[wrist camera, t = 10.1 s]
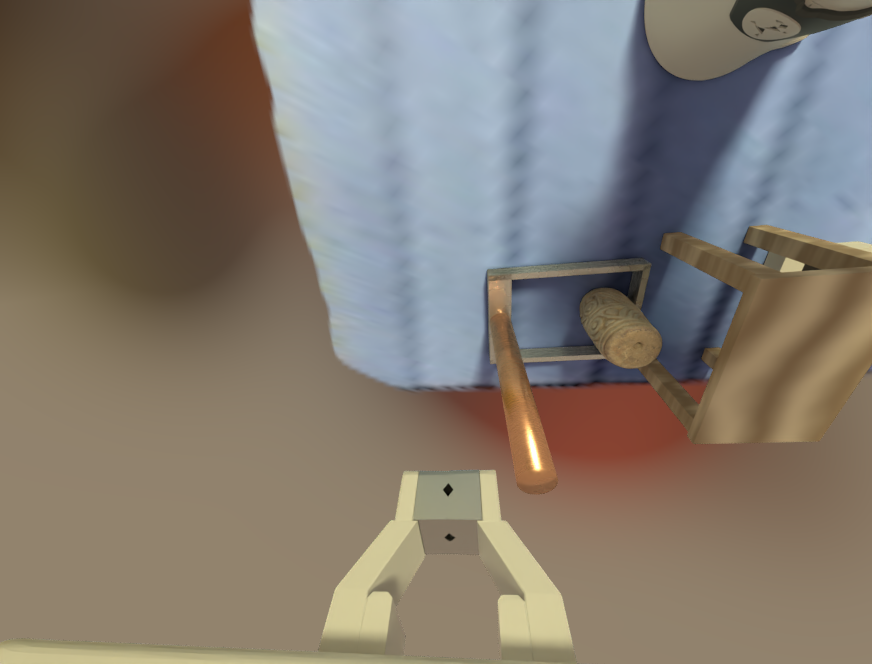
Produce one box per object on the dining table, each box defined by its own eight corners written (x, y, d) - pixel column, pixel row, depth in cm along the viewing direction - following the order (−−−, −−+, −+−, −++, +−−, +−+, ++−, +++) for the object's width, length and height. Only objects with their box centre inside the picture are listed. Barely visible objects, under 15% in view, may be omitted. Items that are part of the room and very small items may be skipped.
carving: (577, 282, 46) (613, 322, 35) (632, 286, 45) (684, 328, 35) (566, 322, 49) (595, 370, 38) (617, 326, 49) (660, 375, 38)
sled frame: (641, 257, 43) (872, 401, 19) (622, 348, 50) (772, 536, 26) (487, 269, 45) (519, 411, 21) (489, 354, 52) (514, 534, 28)
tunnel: (771, 224, 40) (937, 267, 26) (718, 358, 50) (819, 441, 36) (659, 233, 42) (761, 279, 28) (629, 362, 52) (693, 443, 38)
